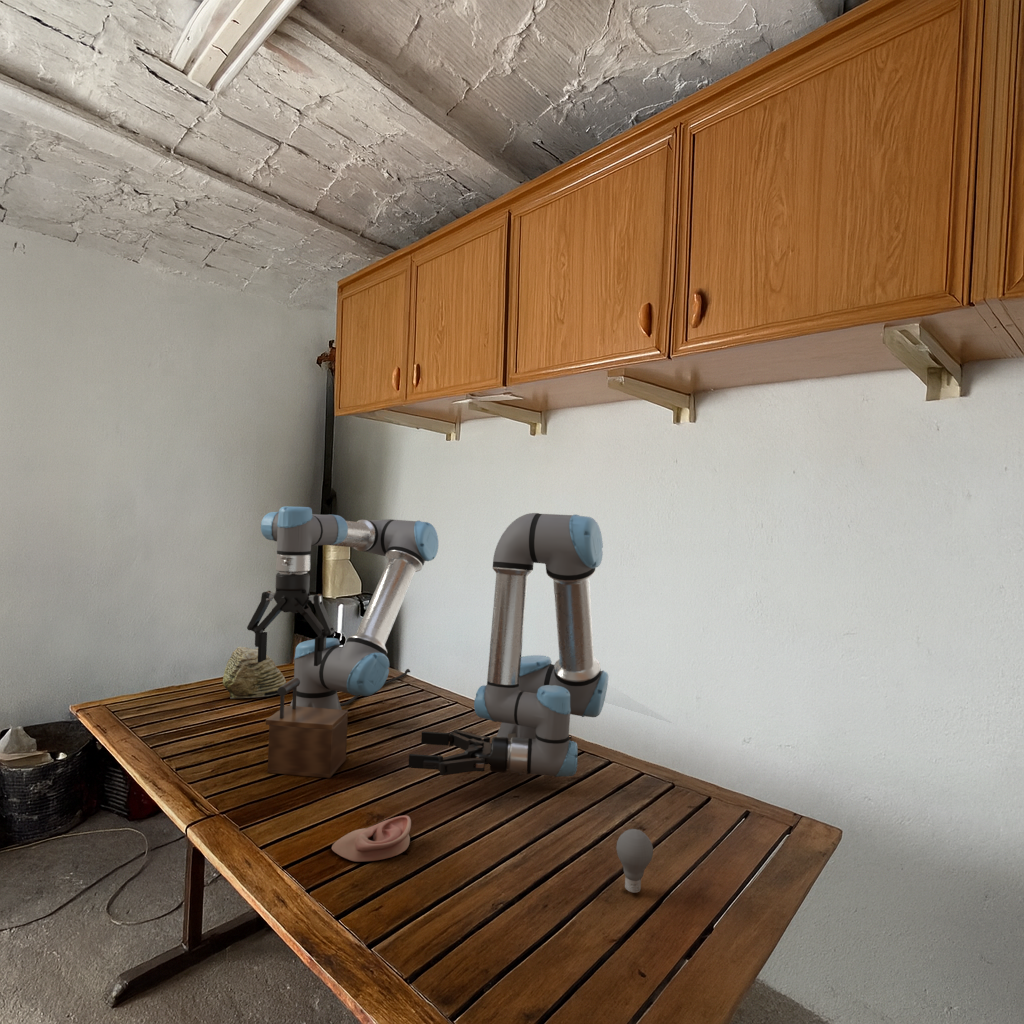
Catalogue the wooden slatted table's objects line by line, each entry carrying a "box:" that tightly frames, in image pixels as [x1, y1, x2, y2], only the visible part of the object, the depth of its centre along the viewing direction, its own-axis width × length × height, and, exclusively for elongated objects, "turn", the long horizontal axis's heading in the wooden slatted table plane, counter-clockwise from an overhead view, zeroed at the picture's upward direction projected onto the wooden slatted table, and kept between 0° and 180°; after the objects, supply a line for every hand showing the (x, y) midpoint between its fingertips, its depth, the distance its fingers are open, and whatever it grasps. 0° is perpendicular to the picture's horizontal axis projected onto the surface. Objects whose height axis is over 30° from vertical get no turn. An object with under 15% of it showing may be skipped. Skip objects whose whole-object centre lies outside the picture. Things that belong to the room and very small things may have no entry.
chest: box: [267, 714, 349, 779], centre depth 148 cm, size 15×10×11 cm
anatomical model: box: [331, 814, 412, 863], centre depth 116 cm, size 13×4×12 cm
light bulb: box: [615, 828, 654, 894], centre depth 106 cm, size 6×6×10 cm
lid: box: [265, 677, 349, 730], centre depth 148 cm, size 16×10×8 cm, turn 85°
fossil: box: [222, 646, 287, 699], centre depth 198 cm, size 9×18×15 cm, turn 132°
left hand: (289, 662), depth 148 cm, fingers open, 13 cm apart
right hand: (415, 748), depth 144 cm, fingers open, 13 cm apart
